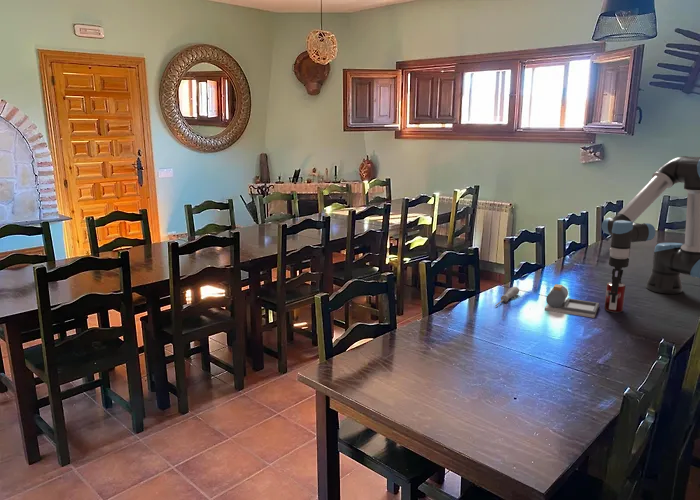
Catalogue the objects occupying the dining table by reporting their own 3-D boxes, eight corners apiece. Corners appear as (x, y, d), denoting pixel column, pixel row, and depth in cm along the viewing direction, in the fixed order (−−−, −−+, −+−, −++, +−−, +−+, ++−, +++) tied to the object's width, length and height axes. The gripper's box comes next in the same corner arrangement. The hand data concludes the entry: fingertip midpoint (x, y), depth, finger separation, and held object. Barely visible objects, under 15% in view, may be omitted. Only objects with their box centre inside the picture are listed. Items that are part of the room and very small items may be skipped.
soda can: (615, 314, 222) (618, 287, 219) (600, 309, 228) (603, 283, 225) (626, 311, 225) (629, 284, 222) (611, 306, 231) (614, 280, 228)
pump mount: (598, 306, 231) (601, 286, 229) (594, 317, 218) (596, 296, 216) (551, 299, 241) (553, 280, 239) (544, 309, 228) (546, 289, 226)
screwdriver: (491, 310, 234) (489, 301, 233) (512, 293, 252) (510, 285, 252) (501, 310, 231) (499, 301, 230) (522, 293, 249) (520, 284, 249)
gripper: (612, 250, 233) (607, 295, 238) (606, 262, 213) (601, 312, 218) (631, 251, 229) (625, 298, 234) (626, 264, 209) (621, 315, 214)
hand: (613, 305), depth 226 cm, fingers open, 12 cm apart
